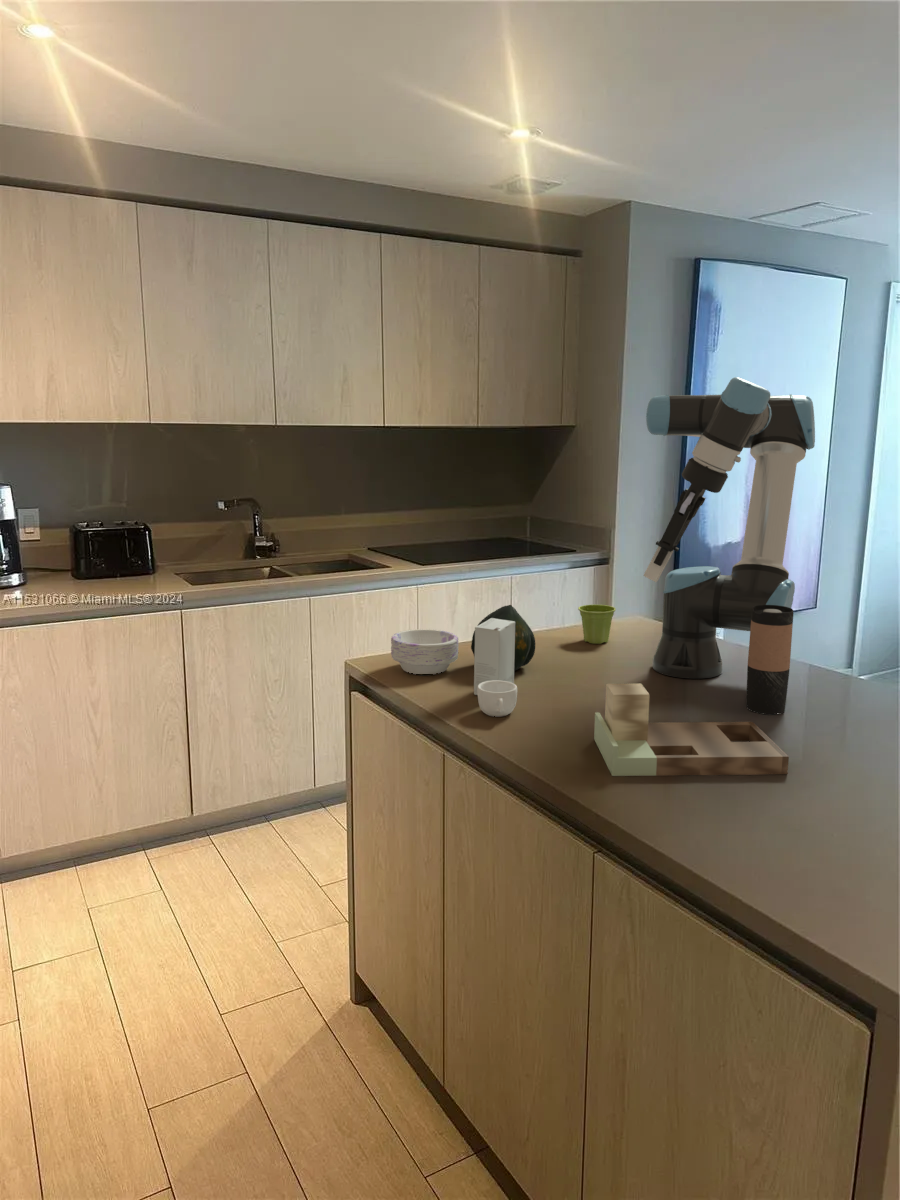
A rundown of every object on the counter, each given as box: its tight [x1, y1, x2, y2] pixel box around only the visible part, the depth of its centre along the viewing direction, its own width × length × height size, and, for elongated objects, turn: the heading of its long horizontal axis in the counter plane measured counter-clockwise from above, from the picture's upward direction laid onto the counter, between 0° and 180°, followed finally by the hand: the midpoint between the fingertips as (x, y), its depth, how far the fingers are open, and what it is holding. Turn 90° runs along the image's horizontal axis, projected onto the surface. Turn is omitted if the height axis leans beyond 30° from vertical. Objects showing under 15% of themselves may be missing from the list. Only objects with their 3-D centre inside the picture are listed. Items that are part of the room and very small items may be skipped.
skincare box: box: [473, 618, 515, 696], centre depth 177 cm, size 8×6×15 cm
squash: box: [470, 604, 536, 672], centre depth 195 cm, size 14×15×15 cm
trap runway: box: [646, 721, 790, 776], centre depth 144 cm, size 21×16×3 cm
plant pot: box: [577, 604, 616, 645], centre depth 218 cm, size 9×9×9 cm
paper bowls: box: [390, 628, 459, 675], centre depth 194 cm, size 15×15×8 cm
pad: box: [593, 711, 657, 777], centre depth 144 cm, size 7×16×5 cm, turn 1°
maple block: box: [604, 683, 650, 741], centre depth 145 cm, size 6×6×8 cm
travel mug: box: [745, 605, 794, 715], centre depth 166 cm, size 8×8×20 cm
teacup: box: [477, 680, 518, 718], centre depth 164 cm, size 10×8×5 cm
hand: (650, 578), depth 162 cm, fingers closed
